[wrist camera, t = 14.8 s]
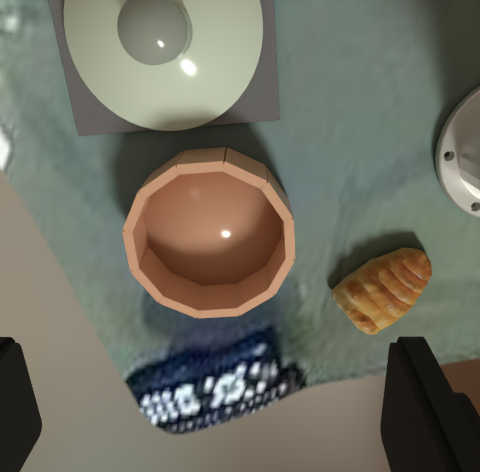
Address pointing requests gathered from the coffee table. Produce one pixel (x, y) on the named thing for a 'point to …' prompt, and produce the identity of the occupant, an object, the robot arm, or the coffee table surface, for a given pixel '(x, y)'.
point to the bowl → (210, 233)
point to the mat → (242, 111)
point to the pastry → (383, 288)
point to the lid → (165, 56)
